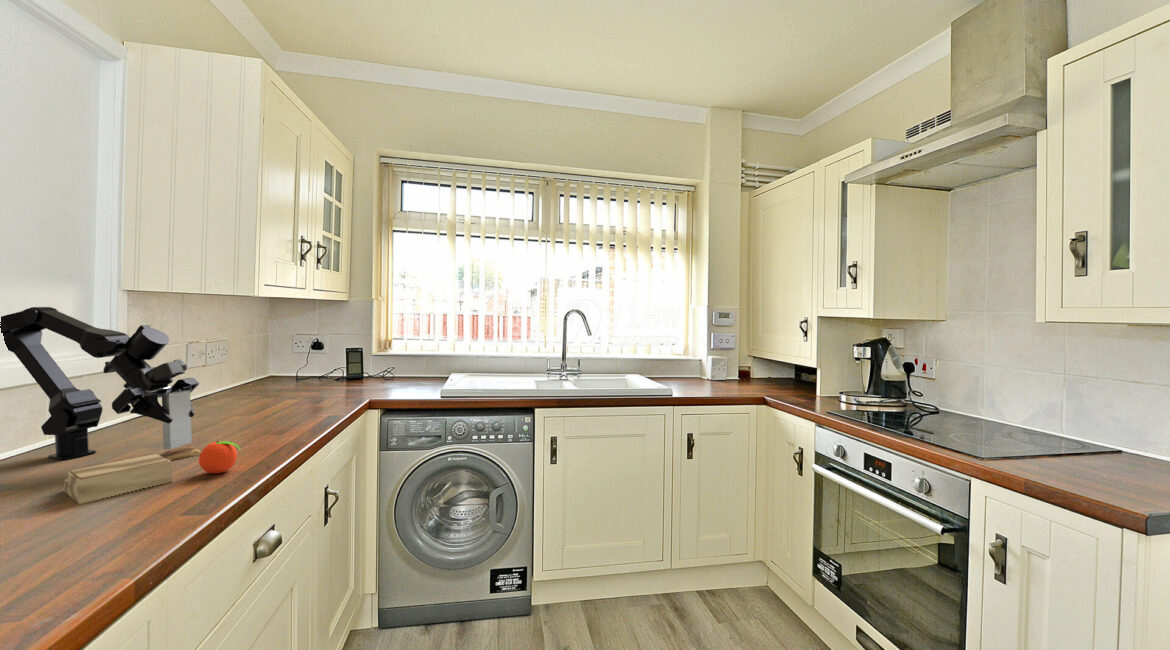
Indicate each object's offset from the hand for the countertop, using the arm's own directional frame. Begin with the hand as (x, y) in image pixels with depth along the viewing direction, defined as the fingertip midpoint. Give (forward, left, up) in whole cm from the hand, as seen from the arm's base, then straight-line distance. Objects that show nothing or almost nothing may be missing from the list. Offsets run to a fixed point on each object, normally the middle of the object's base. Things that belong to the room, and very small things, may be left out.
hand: (182, 418), depth 123 cm
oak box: (+9, -18, -9) cm, 22 cm away
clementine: (+20, -4, -10) cm, 22 cm away
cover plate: (-1, 0, -7) cm, 7 cm away
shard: (-1, 0, -10) cm, 10 cm away
